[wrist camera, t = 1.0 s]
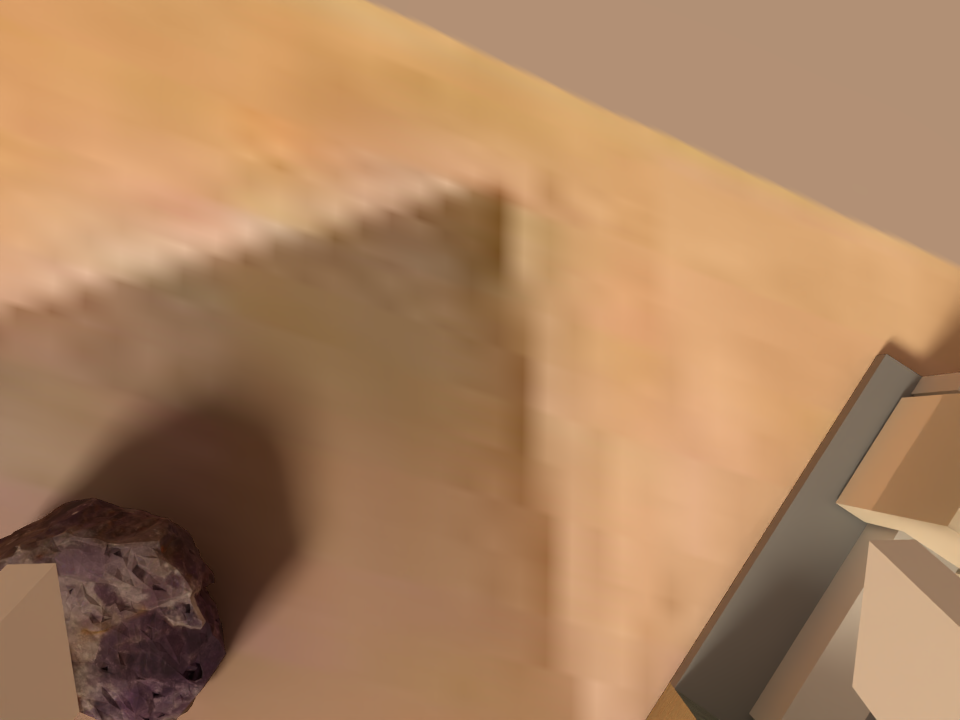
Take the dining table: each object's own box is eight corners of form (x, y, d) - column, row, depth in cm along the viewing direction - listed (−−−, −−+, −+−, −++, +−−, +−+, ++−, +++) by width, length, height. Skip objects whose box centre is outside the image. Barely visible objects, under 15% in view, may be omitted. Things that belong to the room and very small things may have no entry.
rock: (186, 719, 42) (287, 542, 42) (134, 815, 33) (262, 592, 33) (-32, 609, 40) (75, 429, 41) (-144, 680, 32) (-7, 451, 32)
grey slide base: (1052, 468, 41) (1130, 473, 36) (847, 803, 40) (899, 856, 35) (877, 355, 41) (929, 345, 36) (669, 682, 40) (695, 718, 35)
